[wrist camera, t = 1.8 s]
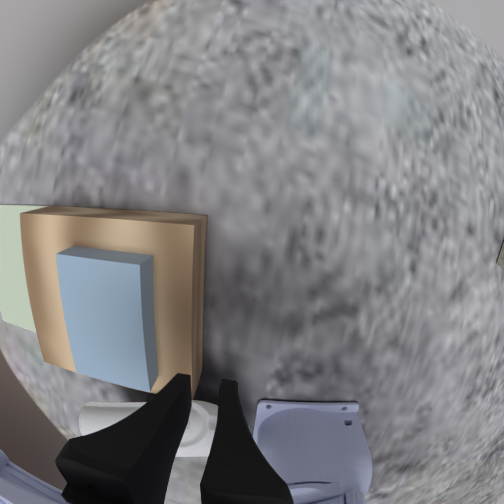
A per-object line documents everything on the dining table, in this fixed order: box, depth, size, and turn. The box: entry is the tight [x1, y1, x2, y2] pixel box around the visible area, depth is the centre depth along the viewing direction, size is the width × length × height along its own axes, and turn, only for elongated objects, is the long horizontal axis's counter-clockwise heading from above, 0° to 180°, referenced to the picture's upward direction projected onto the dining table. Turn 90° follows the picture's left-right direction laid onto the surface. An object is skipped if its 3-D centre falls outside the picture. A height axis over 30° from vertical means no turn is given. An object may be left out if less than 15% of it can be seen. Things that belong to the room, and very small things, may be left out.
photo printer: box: [79, 400, 218, 457], centre depth 21 cm, size 10×4×12 cm
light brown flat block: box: [20, 206, 208, 400], centre depth 20 cm, size 14×13×4 cm
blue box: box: [56, 246, 159, 392], centre depth 18 cm, size 6×9×2 cm, turn 175°
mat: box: [0, 205, 48, 333], centre depth 22 cm, size 10×13×1 cm
